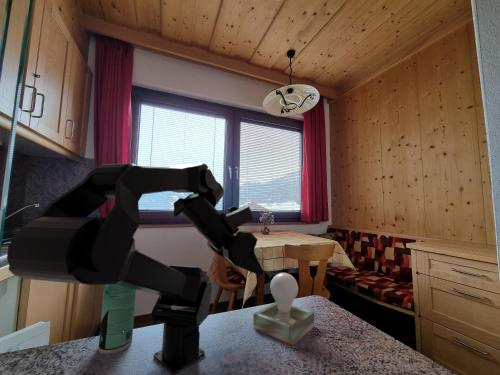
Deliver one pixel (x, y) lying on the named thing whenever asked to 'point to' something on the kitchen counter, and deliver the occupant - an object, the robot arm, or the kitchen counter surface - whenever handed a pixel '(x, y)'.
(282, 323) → the open box
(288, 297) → the lightbulb
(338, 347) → the kitchen counter surface
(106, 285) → the spray can
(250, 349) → the kitchen counter surface
